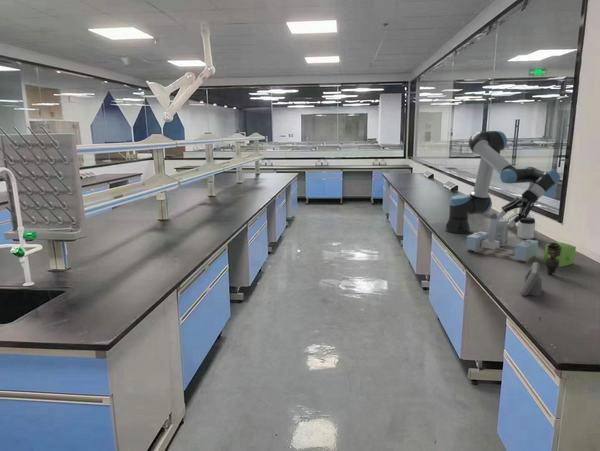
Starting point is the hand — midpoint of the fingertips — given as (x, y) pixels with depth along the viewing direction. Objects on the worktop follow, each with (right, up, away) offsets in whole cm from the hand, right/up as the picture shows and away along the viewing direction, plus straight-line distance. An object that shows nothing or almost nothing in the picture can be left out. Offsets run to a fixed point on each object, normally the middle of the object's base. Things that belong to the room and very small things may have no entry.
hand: (502, 222), depth 216 cm
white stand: (-5, -13, +4) cm, 14 cm away
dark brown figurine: (+7, -24, -31) cm, 40 cm away
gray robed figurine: (-14, -28, -49) cm, 59 cm away
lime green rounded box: (+19, -21, -17) cm, 33 cm away
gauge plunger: (-9, -12, +8) cm, 17 cm away
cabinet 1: (-9, -13, +9) cm, 18 cm away
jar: (+31, -9, +33) cm, 46 cm away
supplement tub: (+6, -13, +18) cm, 23 cm away
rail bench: (-1, -17, 0) cm, 17 cm away
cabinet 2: (+7, -17, -9) cm, 21 cm away
